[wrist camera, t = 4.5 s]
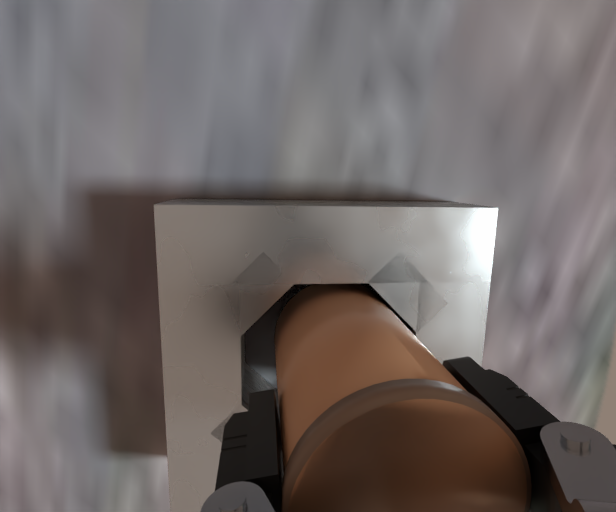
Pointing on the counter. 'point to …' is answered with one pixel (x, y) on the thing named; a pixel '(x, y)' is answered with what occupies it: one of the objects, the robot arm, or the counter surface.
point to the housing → (280, 278)
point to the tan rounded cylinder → (382, 417)
